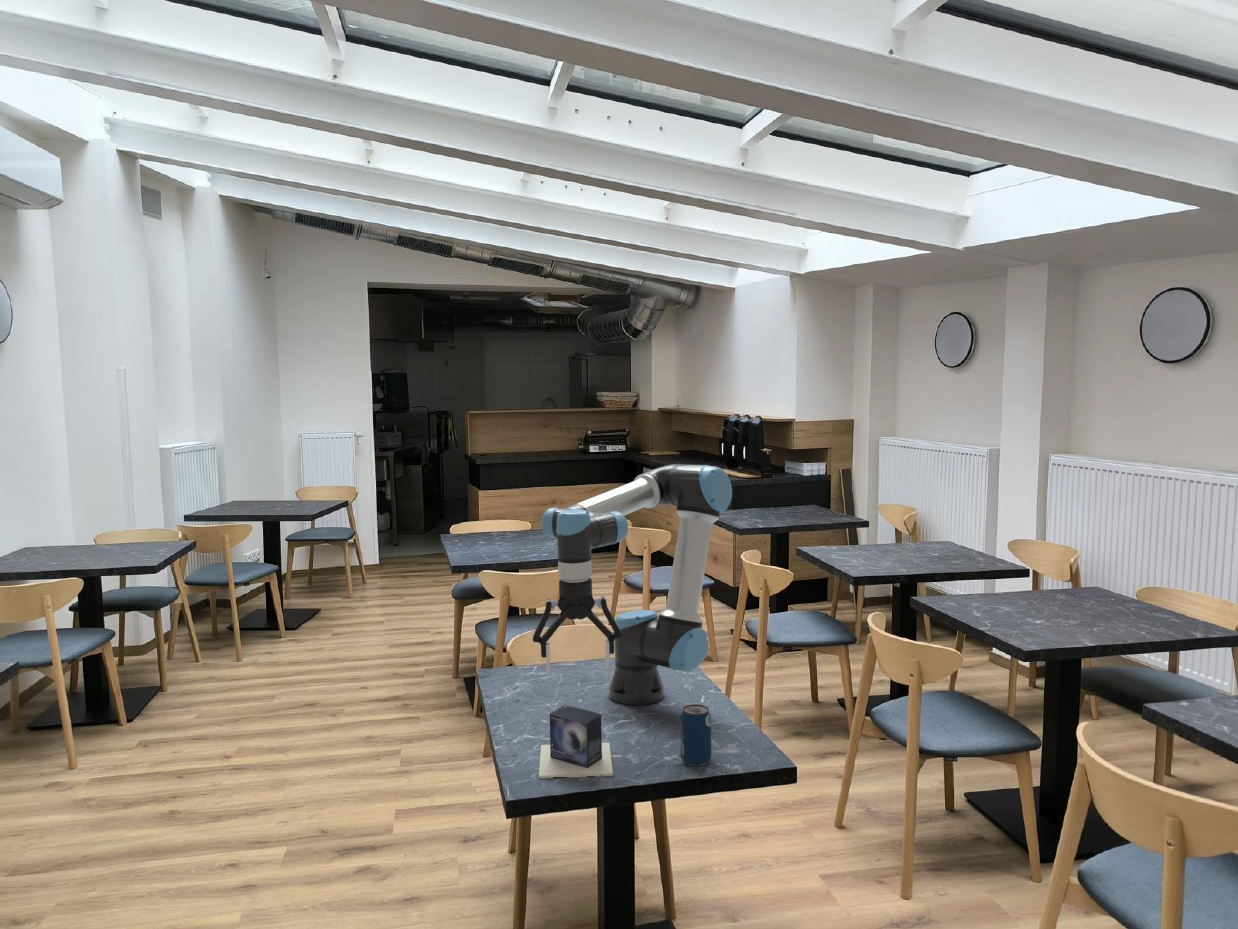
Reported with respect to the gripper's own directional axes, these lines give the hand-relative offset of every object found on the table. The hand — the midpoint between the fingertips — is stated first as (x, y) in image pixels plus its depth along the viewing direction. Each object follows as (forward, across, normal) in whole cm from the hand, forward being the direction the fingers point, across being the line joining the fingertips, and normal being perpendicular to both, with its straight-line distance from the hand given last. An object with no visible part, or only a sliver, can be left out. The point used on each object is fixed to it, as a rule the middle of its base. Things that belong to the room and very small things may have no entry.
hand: (578, 669), depth 192 cm
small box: (+19, +1, +5) cm, 20 cm away
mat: (+19, +1, +5) cm, 20 cm away
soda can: (+20, -26, +8) cm, 33 cm away
